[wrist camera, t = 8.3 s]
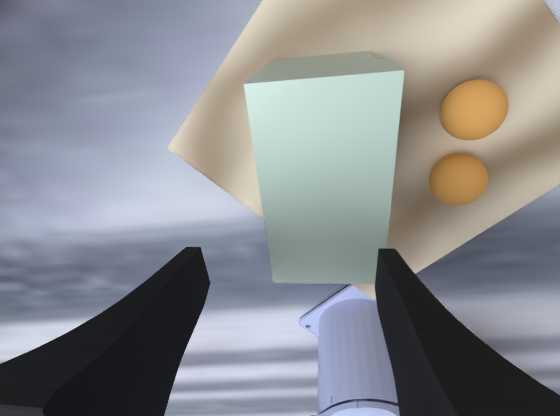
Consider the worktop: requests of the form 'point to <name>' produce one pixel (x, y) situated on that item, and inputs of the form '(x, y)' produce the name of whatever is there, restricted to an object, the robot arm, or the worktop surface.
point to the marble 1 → (474, 109)
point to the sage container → (325, 162)
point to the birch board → (404, 104)
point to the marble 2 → (458, 179)
